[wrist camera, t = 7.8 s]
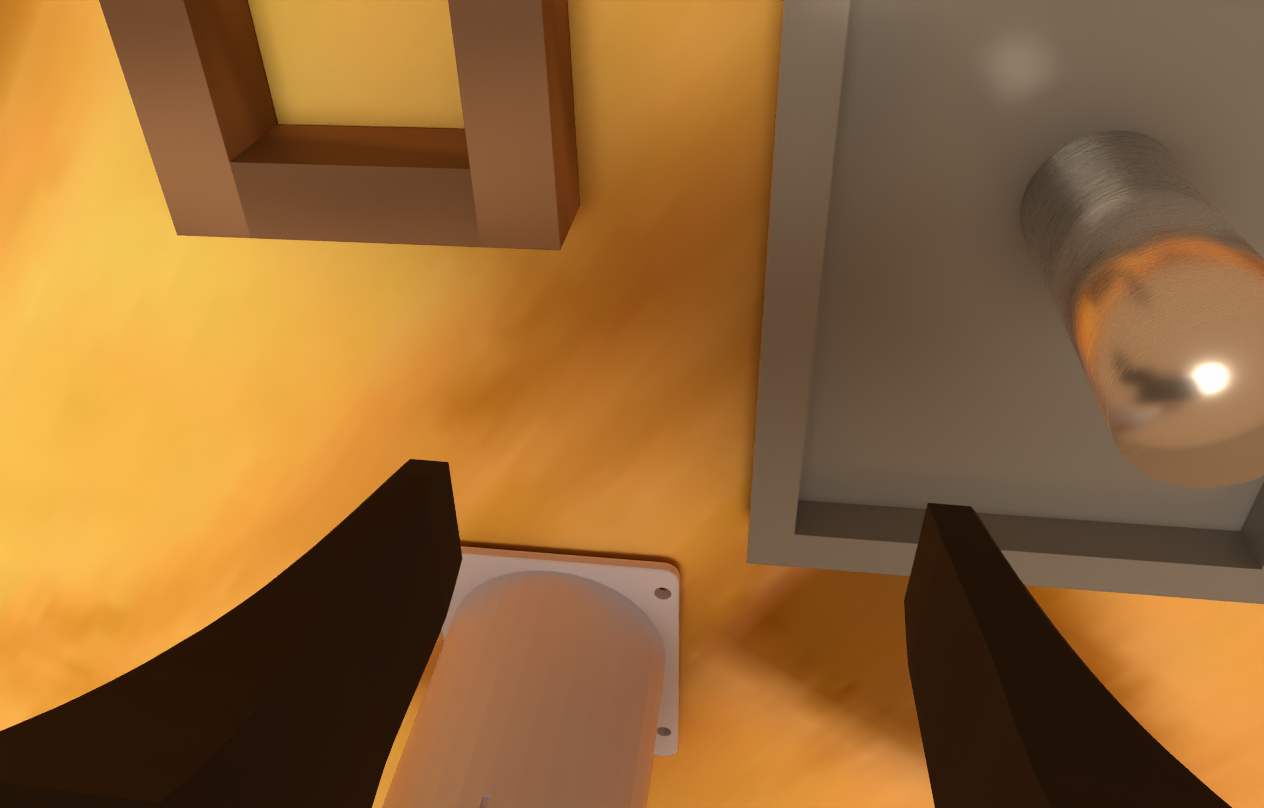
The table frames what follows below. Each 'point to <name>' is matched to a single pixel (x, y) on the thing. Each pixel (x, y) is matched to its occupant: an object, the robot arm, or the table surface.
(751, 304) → the table surface
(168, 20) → the socket block
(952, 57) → the tray
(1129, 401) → the pin
